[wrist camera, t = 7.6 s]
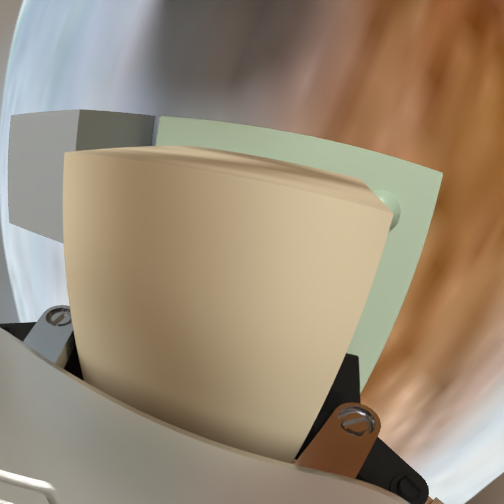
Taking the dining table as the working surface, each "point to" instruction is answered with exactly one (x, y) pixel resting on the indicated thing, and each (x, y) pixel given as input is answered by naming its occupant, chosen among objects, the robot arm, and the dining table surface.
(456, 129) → the dining table surface
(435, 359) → the dining table surface
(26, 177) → the grey cube
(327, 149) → the baseplate
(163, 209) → the beech block
